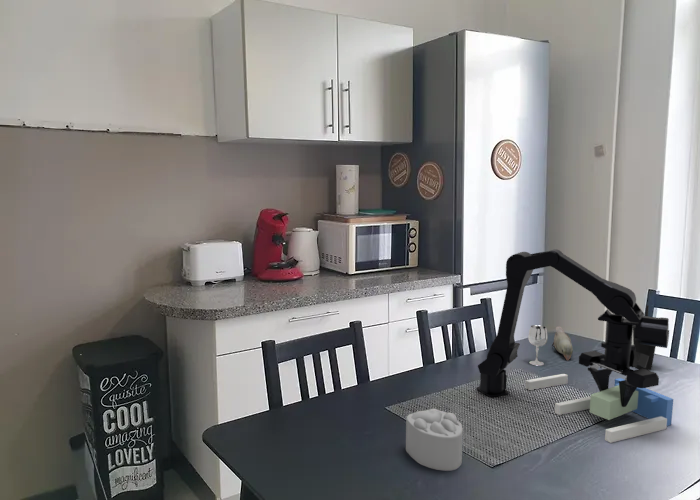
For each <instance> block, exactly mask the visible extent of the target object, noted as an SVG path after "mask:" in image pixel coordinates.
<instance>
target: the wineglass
mask: <svg viewBox="0 0 700 500" xmlns="http://www.w3.org/2000/svg"><path fill="white" fill-rule="evenodd" d="M527 338H528V341H529V343H530V344H531V346H534V347H535V353H536V354H535V356H536V357H535V359H534V360H531V361H529V364H530V365H533V366H539V367H541V366H544V365H545V363H544V362H543V361H539V359H538V357H539V352H540V351H539V350H540V349H539V347H541V348H542V347H543V346H545V345H547V342H548V330H547V326H544V325H540V324H539V325H538V324H532V325H530V328H529V330H528V337H527Z"/></svg>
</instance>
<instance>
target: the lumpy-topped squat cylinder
mask: <svg viewBox="0 0 700 500" xmlns="http://www.w3.org/2000/svg"><path fill="white" fill-rule="evenodd" d="M405 421H406V422H405V424H406V425H405V451H406V453H407V454H408V455H409V456H410V457H411V458H412V459H413V460H414V461H415V462H416V463H418V464H420V465H421V466H424V467H426V468H429V469H432V470H437V471H446V472H449V471H455V470H457V469H459V468H460V466H461V465H462V462H463V436H464V435H463V434H464V429H463V424H462V423H461V422H460V421H459V420H458V418H457V416H456V414H455V413H453V412H445V411H443V410H438V409H437V408H430V409H427V410H426V409H425V410H417V411H415V412H413V413H410V414H407V416H406V420H405Z"/></svg>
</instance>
